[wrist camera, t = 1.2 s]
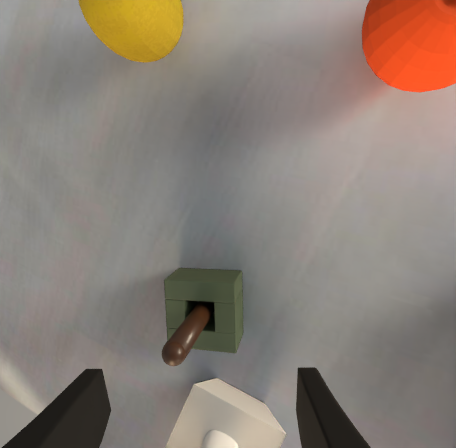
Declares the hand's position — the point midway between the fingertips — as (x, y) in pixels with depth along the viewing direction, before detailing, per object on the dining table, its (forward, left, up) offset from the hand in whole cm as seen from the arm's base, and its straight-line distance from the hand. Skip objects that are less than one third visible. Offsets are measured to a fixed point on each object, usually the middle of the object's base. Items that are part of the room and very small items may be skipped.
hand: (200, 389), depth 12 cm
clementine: (+16, -11, -14) cm, 23 cm away
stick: (-2, +3, -13) cm, 14 cm away
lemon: (+18, +6, -14) cm, 23 cm away
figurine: (-12, +2, -14) cm, 18 cm away
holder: (-2, +3, -13) cm, 14 cm away
